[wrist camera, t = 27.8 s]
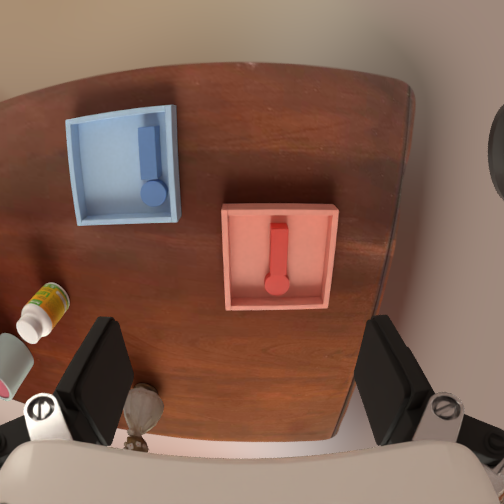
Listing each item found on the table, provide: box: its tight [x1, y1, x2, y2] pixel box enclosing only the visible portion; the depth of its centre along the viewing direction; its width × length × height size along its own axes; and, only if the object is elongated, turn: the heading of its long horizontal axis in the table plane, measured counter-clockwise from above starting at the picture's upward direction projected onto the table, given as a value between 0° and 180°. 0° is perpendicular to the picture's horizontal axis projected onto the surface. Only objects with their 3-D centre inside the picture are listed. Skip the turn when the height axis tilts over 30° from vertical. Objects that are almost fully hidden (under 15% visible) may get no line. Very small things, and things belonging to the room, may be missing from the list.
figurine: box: [123, 383, 164, 452], centre depth 45 cm, size 8×7×15 cm
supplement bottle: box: [16, 282, 70, 344], centre depth 39 cm, size 5×5×10 cm
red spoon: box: [264, 223, 290, 296], centre depth 39 cm, size 3×10×2 cm, turn 0°
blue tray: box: [66, 105, 182, 226], centre depth 35 cm, size 13×13×3 cm
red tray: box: [221, 203, 339, 310], centre depth 40 cm, size 13×13×3 cm
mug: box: [0, 333, 34, 401], centre depth 45 cm, size 14×9×10 cm
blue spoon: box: [138, 125, 168, 207], centre depth 34 cm, size 3×10×2 cm, turn 0°
